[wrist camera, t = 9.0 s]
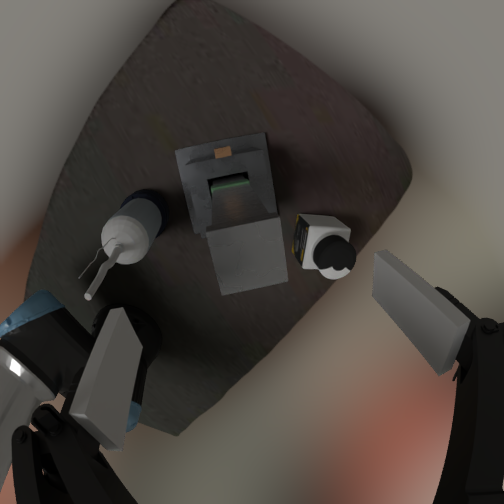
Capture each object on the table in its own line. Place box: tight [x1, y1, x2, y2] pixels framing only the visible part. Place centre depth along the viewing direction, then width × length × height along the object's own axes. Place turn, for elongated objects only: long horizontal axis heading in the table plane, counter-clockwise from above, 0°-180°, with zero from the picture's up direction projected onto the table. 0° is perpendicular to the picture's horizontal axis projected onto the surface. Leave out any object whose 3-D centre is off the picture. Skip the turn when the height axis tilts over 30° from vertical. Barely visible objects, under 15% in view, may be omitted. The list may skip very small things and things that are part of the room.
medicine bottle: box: [292, 214, 356, 279], centre depth 44 cm, size 7×7×12 cm
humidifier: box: [79, 189, 169, 300], centre depth 32 cm, size 8×8×25 cm
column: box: [206, 175, 288, 295], centre depth 28 cm, size 5×5×21 cm
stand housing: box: [175, 133, 278, 238], centre depth 39 cm, size 14×14×9 cm
